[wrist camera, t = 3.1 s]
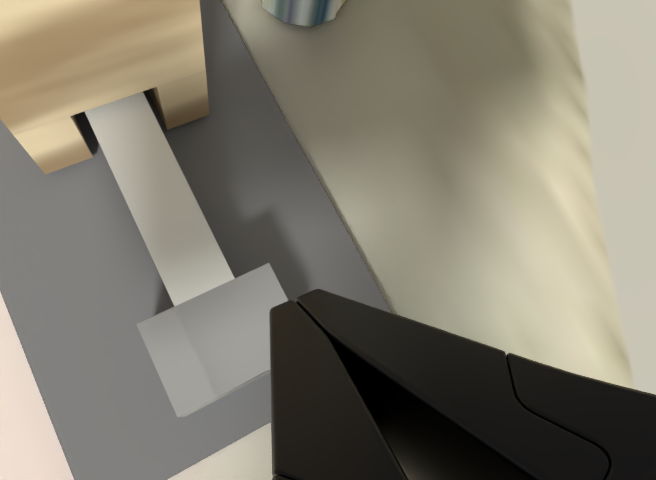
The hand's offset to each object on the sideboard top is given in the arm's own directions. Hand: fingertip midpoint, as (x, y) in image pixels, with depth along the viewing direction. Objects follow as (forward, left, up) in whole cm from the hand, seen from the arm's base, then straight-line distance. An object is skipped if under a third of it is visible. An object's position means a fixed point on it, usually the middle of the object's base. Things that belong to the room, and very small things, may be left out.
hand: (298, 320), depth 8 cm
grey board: (+13, +1, -12) cm, 18 cm away
